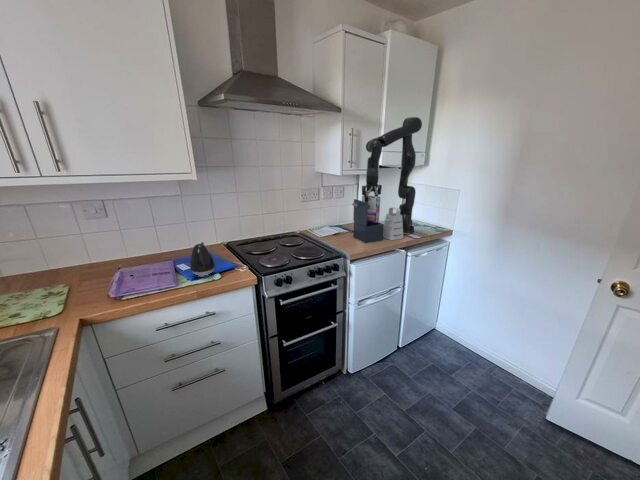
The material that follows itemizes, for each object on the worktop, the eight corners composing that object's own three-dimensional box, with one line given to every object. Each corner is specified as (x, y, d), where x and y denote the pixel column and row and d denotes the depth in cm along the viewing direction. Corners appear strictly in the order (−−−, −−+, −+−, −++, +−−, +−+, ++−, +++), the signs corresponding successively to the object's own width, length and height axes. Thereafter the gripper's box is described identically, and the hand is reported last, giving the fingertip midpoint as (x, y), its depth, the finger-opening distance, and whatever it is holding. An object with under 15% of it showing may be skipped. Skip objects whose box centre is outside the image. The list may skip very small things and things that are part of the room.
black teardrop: (218, 269, 146) (213, 240, 140) (213, 278, 136) (208, 247, 131) (196, 270, 144) (190, 240, 139) (189, 279, 135) (182, 248, 129)
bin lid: (354, 198, 194) (348, 199, 191) (367, 202, 182) (360, 203, 180) (354, 220, 199) (347, 221, 197) (366, 225, 187) (360, 226, 185)
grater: (391, 240, 198) (393, 210, 191) (381, 236, 206) (383, 207, 199) (403, 238, 203) (406, 209, 196) (393, 234, 212) (395, 206, 204)
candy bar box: (379, 221, 196) (380, 196, 190) (375, 223, 192) (377, 197, 186) (364, 219, 201) (365, 194, 195) (360, 220, 197) (361, 195, 191)
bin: (369, 234, 210) (370, 219, 206) (382, 240, 198) (383, 224, 194) (353, 236, 203) (353, 221, 199) (365, 243, 191) (366, 226, 187)
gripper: (366, 175, 179) (364, 203, 186) (385, 175, 186) (383, 201, 192) (359, 174, 185) (358, 201, 191) (378, 174, 192) (376, 200, 198)
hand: (371, 201), depth 192 cm, fingers closed on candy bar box, 6 cm apart
